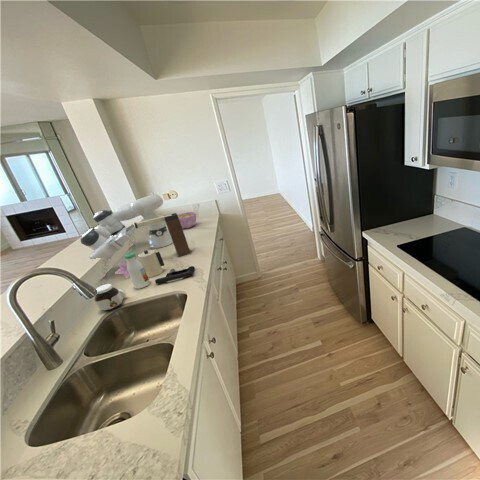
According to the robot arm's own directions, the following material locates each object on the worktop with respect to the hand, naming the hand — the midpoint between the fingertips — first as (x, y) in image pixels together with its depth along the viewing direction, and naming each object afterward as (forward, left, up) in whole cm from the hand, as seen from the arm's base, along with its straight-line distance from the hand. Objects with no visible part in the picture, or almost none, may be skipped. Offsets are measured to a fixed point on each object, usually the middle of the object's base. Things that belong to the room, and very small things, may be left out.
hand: (133, 226), depth 169 cm
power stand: (0, +22, -27) cm, 35 cm away
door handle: (+35, +13, -27) cm, 46 cm away
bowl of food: (-65, +36, -27) cm, 79 cm away
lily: (+10, -11, -27) cm, 31 cm away
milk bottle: (+32, -5, -27) cm, 42 cm away
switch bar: (0, +12, -1) cm, 12 cm away
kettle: (+20, +2, -27) cm, 34 cm away
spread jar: (+44, -18, -27) cm, 55 cm away
